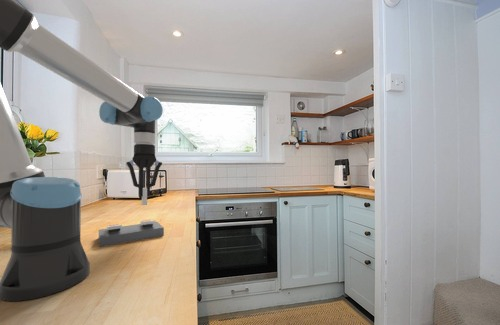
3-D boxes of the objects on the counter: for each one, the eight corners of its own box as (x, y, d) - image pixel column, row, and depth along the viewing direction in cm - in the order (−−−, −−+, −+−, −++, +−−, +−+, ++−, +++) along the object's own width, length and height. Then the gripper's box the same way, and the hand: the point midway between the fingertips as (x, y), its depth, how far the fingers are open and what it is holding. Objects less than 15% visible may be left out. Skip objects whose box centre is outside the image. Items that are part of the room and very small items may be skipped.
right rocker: (155, 223, 85) (155, 219, 85) (143, 224, 82) (143, 221, 82) (151, 222, 90) (151, 219, 90) (140, 224, 88) (140, 221, 88)
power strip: (163, 235, 84) (163, 225, 84) (99, 247, 73) (99, 235, 73) (156, 228, 93) (156, 219, 93) (98, 238, 82) (98, 227, 82)
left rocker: (121, 227, 78) (121, 224, 78) (108, 229, 76) (108, 226, 76) (119, 227, 84) (119, 223, 84) (107, 228, 82) (107, 225, 82)
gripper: (159, 146, 95) (159, 201, 95) (124, 144, 88) (124, 205, 88) (164, 144, 89) (164, 204, 89) (126, 142, 82) (126, 207, 81)
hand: (144, 204), depth 88 cm, fingers closed
